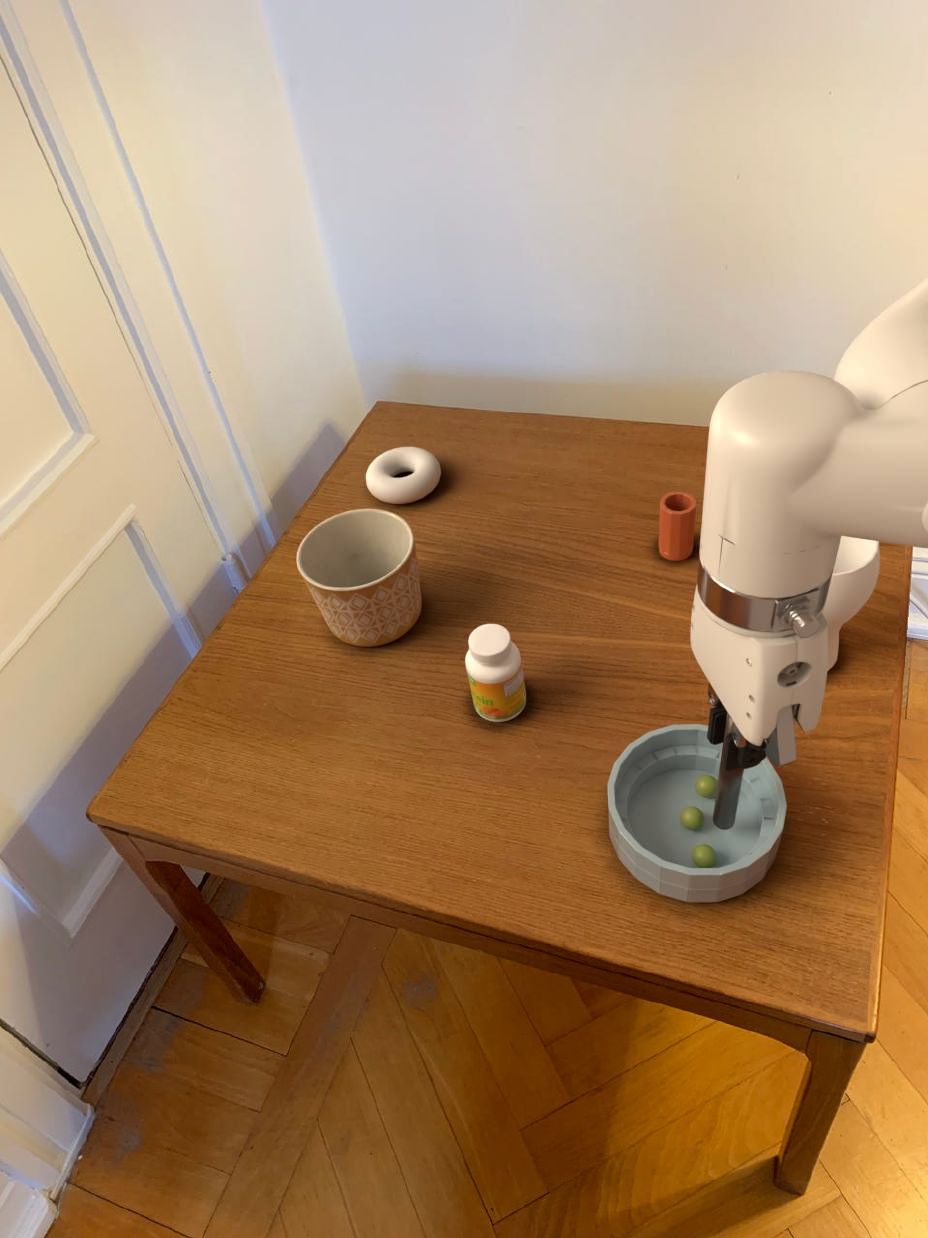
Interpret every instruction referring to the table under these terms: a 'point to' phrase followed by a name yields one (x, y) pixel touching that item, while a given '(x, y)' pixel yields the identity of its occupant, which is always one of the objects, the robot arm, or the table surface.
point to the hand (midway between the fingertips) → (735, 748)
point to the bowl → (656, 796)
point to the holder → (677, 525)
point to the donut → (405, 487)
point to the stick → (727, 789)
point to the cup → (850, 586)
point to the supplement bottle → (495, 673)
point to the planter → (363, 575)
